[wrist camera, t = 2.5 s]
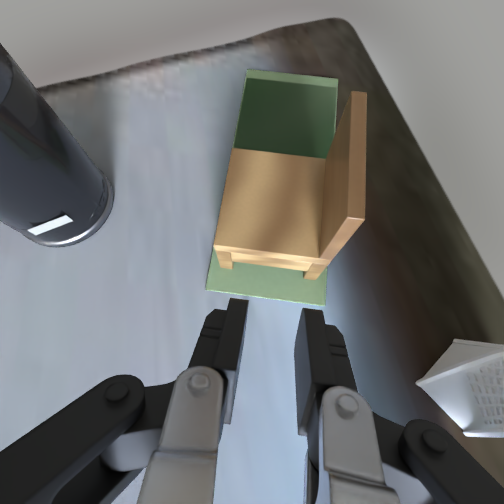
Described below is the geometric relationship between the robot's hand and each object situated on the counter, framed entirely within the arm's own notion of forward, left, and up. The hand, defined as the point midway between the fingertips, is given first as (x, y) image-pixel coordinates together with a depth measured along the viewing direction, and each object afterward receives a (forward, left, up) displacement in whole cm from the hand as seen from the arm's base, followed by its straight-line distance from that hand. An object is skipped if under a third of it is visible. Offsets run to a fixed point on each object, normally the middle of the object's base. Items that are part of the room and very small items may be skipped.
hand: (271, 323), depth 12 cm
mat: (0, +18, -16) cm, 24 cm away
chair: (0, +11, -16) cm, 19 cm away
